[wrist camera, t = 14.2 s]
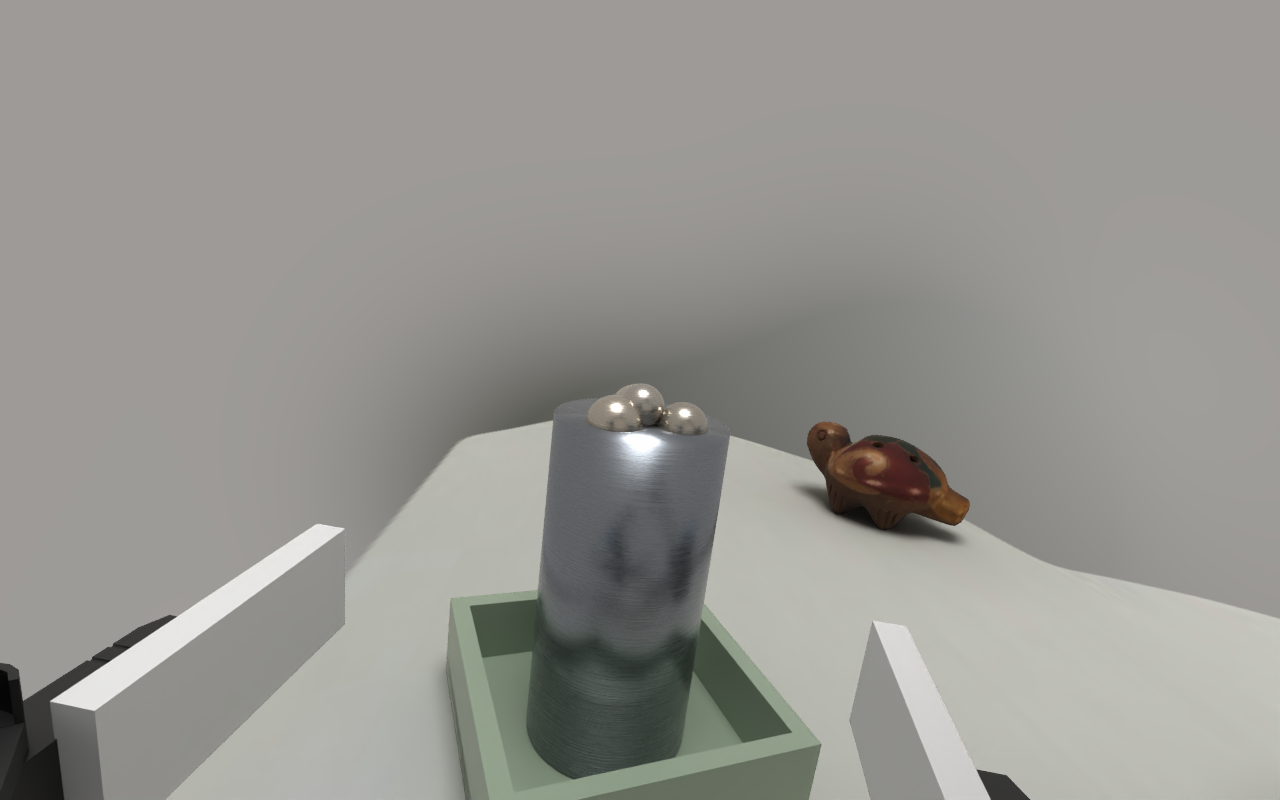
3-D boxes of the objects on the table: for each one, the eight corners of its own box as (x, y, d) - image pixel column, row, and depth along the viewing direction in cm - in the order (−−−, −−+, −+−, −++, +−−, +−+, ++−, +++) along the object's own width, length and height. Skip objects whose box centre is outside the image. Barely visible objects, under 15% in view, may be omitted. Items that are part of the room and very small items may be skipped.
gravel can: (648, 661, 33) (688, 368, 29) (710, 765, 27) (770, 408, 23) (512, 680, 30) (539, 361, 27) (546, 801, 24) (586, 404, 20)
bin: (672, 639, 37) (681, 577, 36) (802, 827, 26) (821, 743, 25) (446, 669, 32) (450, 598, 31) (484, 918, 21) (493, 818, 20)
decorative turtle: (802, 480, 67) (823, 408, 66) (955, 533, 61) (982, 455, 59) (778, 502, 59) (801, 420, 57) (952, 566, 53) (984, 477, 51)
